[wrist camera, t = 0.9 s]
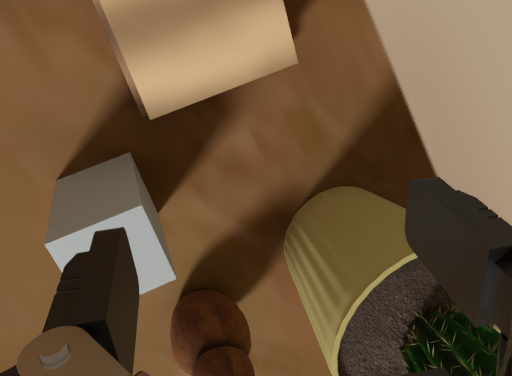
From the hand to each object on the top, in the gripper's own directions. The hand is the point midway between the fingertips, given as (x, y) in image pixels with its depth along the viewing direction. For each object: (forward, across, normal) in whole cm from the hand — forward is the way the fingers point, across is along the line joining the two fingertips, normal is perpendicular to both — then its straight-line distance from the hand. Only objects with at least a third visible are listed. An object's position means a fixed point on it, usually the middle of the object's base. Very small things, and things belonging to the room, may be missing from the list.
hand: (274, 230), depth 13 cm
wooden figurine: (+24, -4, -23) cm, 34 cm away
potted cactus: (+27, +10, -20) cm, 35 cm away
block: (+24, -10, -10) cm, 28 cm away
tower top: (+23, -1, +4) cm, 24 cm away
